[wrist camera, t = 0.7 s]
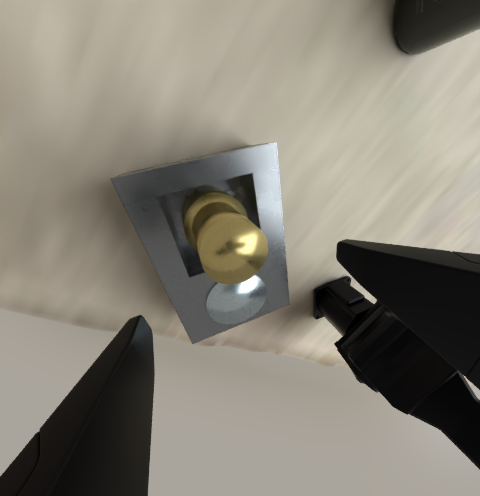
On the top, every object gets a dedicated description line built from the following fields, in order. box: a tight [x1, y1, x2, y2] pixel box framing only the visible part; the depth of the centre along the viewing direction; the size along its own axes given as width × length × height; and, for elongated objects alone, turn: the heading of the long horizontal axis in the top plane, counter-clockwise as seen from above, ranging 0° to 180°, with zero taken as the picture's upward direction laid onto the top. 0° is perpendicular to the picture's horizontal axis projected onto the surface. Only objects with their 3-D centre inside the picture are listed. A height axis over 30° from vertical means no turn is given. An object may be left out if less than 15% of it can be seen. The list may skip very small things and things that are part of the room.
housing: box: [111, 142, 290, 344], centre depth 18 cm, size 16×11×5 cm
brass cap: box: [182, 188, 268, 285], centre depth 14 cm, size 5×5×8 cm
